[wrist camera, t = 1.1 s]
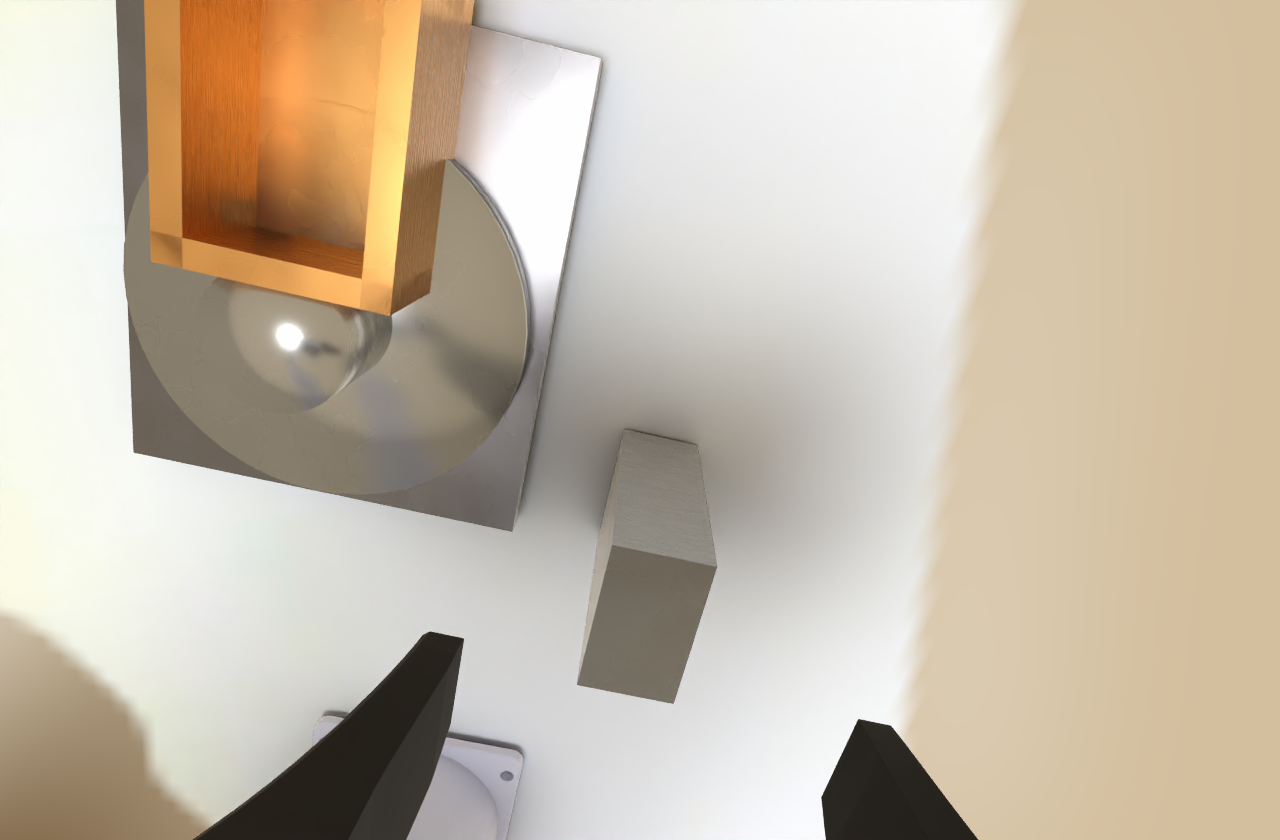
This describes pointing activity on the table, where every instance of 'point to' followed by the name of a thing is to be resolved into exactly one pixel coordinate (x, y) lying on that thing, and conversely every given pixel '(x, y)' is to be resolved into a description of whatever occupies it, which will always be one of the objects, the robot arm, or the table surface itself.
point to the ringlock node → (346, 242)
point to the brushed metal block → (648, 570)
